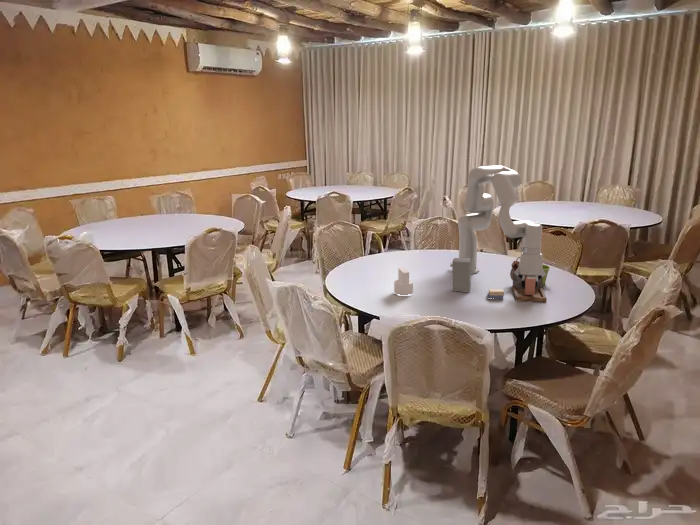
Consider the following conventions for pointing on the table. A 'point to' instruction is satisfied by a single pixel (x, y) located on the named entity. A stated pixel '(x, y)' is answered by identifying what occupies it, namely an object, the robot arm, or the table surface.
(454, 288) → the skincare box
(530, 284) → the salmon pink block
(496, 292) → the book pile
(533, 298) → the brown open box
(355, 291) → the table surface
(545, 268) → the plant pot
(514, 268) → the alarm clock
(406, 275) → the cylinder with rectangular tab
